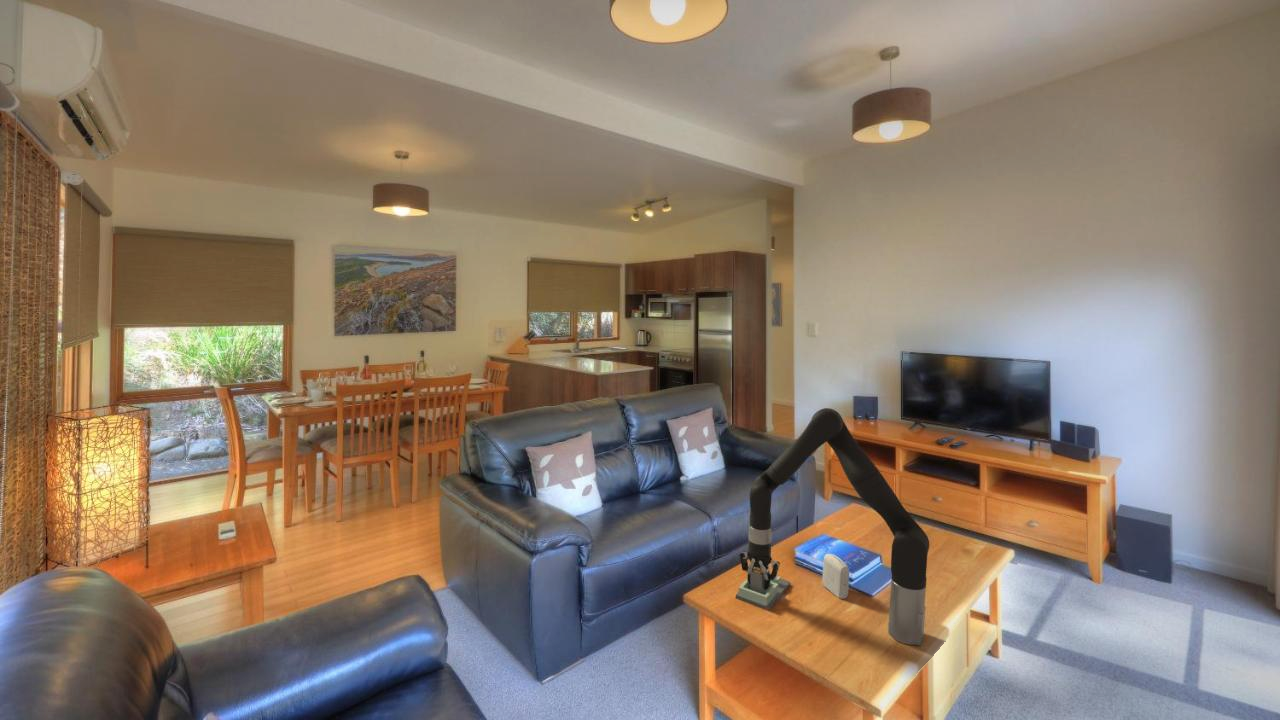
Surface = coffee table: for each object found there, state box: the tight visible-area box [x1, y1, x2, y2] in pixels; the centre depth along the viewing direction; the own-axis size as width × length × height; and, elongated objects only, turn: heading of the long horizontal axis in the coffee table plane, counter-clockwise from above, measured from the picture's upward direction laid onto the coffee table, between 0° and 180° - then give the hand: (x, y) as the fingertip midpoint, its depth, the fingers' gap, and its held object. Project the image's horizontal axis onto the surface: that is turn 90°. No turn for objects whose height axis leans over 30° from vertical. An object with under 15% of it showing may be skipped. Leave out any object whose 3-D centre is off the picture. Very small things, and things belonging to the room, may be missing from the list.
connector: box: [750, 567, 766, 595], centre depth 174 cm, size 4×4×9 cm
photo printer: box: [821, 553, 850, 600], centre depth 178 cm, size 10×4×12 cm, turn 17°
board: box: [735, 575, 791, 611], centre depth 178 cm, size 12×19×4 cm, turn 144°
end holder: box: [738, 578, 778, 606], centre depth 175 cm, size 10×10×3 cm
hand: (758, 585), depth 174 cm, fingers open, 5 cm apart
